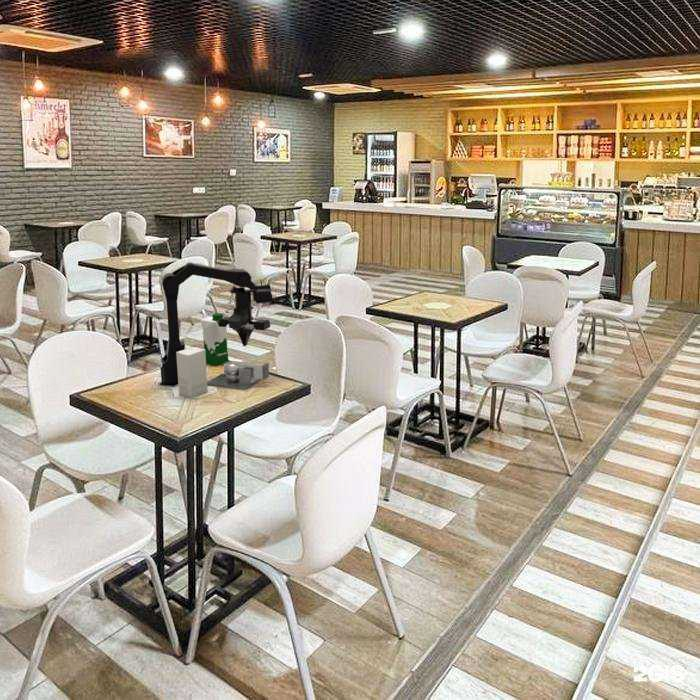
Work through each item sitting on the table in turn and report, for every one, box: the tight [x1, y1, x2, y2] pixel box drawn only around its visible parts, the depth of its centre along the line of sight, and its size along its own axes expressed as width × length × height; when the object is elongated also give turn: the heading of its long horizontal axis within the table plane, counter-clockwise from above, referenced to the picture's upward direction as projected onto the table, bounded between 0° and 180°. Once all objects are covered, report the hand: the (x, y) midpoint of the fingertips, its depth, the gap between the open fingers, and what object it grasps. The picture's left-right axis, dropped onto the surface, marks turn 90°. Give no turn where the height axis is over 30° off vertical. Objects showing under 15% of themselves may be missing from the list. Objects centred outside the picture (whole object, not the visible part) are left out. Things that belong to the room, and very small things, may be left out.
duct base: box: [207, 369, 261, 391], centre depth 263 cm, size 16×12×6 cm
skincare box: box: [176, 346, 208, 399], centre depth 250 cm, size 8×7×16 cm
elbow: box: [223, 360, 270, 381], centre depth 261 cm, size 16×6×5 cm, turn 77°
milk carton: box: [200, 312, 230, 367], centre depth 286 cm, size 9×9×20 cm
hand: (245, 345), depth 268 cm, fingers closed
